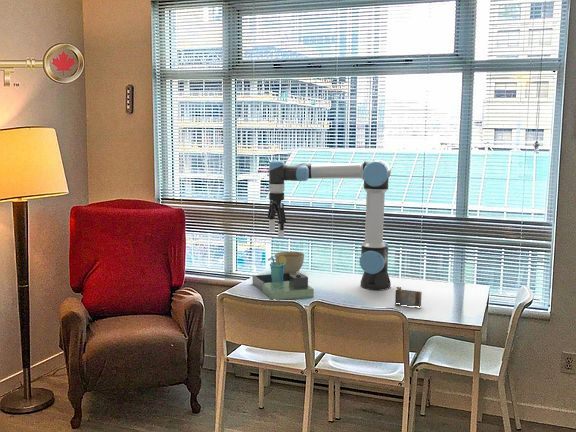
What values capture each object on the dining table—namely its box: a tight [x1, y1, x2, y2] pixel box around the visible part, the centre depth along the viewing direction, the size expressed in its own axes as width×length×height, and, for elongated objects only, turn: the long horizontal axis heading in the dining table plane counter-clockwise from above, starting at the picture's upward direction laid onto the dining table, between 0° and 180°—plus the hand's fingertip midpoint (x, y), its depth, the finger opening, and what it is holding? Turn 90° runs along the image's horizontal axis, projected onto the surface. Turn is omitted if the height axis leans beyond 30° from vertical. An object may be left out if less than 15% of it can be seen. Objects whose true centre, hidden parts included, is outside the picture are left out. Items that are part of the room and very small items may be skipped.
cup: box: [267, 256, 287, 282], centre depth 326 cm, size 14×8×15 cm, turn 147°
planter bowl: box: [274, 251, 305, 275], centre depth 354 cm, size 16×16×11 cm
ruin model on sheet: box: [394, 286, 423, 307], centre depth 292 cm, size 11×3×10 cm, turn 68°
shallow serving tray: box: [252, 270, 315, 300], centre depth 319 cm, size 33×20×11 cm, turn 21°
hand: (276, 234), depth 323 cm, fingers open, 13 cm apart
